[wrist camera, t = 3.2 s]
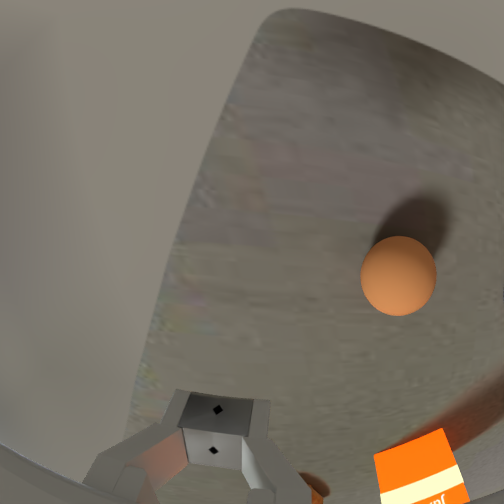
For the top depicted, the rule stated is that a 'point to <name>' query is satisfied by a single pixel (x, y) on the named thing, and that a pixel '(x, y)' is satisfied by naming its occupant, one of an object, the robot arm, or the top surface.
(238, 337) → the top surface
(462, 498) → the orange juice
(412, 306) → the ball
